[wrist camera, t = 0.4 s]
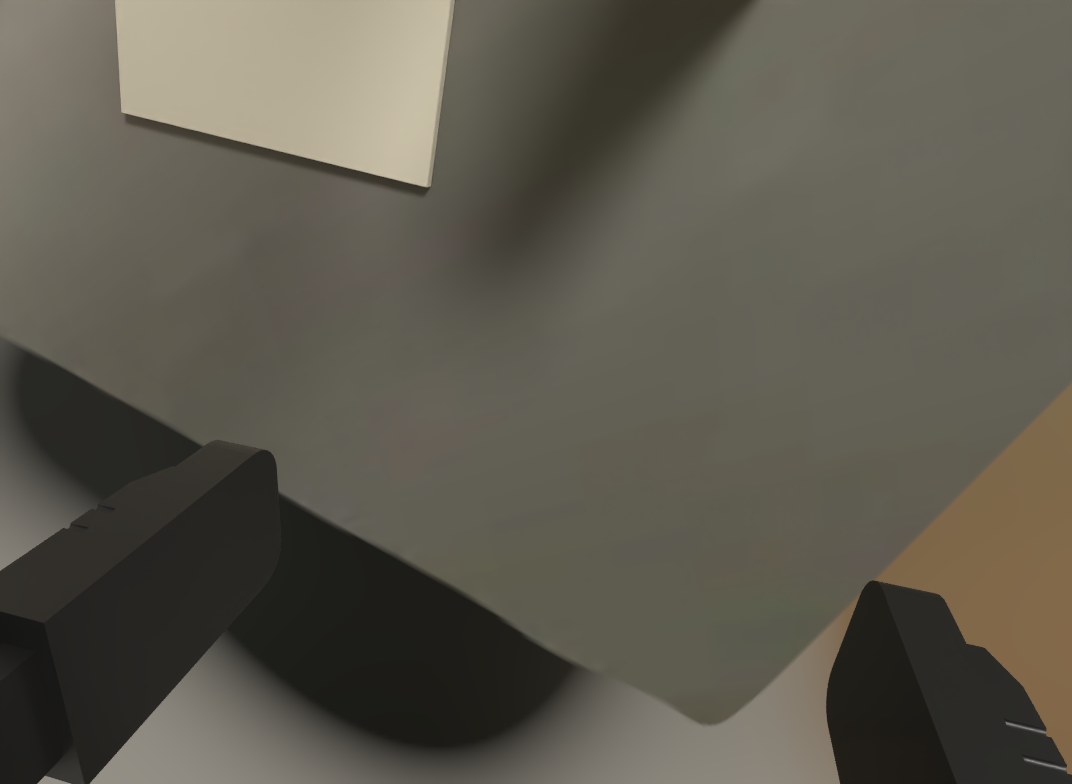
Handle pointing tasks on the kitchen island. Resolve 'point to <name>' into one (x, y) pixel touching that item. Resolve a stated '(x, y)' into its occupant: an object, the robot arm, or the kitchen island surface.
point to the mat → (294, 75)
